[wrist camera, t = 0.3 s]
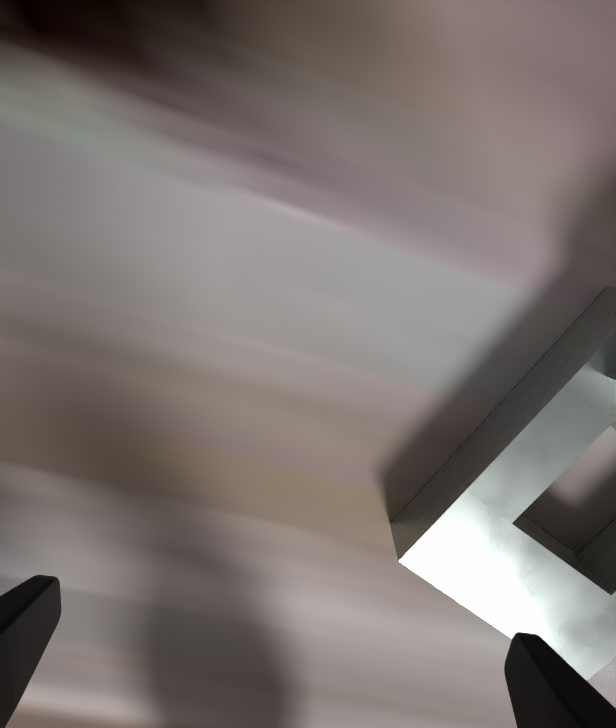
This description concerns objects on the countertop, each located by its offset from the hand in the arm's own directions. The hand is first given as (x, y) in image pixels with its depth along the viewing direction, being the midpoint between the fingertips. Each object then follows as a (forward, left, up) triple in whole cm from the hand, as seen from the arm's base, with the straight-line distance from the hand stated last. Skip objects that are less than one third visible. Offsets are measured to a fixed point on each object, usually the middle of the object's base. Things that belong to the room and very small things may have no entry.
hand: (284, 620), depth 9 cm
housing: (-4, -14, -15) cm, 21 cm away
